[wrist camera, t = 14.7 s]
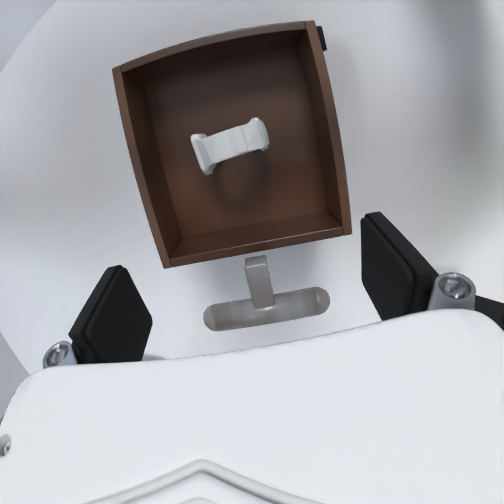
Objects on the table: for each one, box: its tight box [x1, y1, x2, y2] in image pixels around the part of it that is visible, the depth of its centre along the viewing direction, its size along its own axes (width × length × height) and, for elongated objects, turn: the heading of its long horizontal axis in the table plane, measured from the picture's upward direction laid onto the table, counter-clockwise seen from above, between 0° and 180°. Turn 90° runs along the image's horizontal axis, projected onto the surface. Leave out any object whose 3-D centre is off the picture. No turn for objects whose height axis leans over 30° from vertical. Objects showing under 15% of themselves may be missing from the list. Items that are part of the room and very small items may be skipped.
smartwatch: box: [190, 118, 270, 175], centre depth 14 cm, size 4×2×4 cm, turn 108°
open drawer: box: [112, 20, 352, 331], centre depth 14 cm, size 14×10×6 cm
